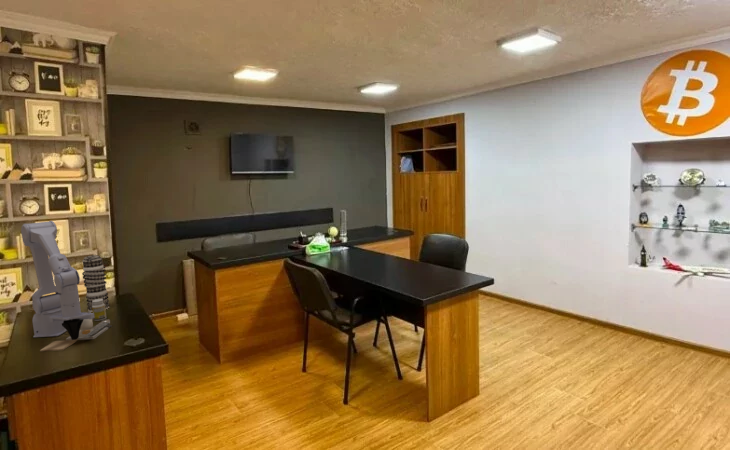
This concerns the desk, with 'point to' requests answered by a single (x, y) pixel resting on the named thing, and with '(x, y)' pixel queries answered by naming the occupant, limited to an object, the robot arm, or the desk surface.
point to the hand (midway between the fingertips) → (75, 338)
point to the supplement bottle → (99, 310)
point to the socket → (90, 336)
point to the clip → (95, 328)
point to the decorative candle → (94, 280)
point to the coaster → (58, 345)
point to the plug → (86, 326)
